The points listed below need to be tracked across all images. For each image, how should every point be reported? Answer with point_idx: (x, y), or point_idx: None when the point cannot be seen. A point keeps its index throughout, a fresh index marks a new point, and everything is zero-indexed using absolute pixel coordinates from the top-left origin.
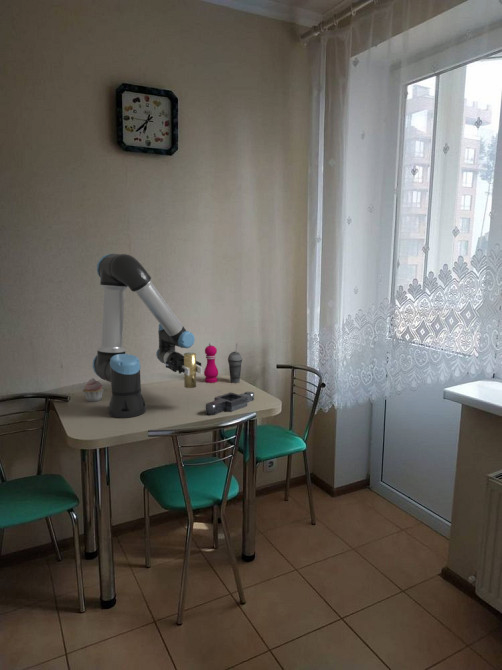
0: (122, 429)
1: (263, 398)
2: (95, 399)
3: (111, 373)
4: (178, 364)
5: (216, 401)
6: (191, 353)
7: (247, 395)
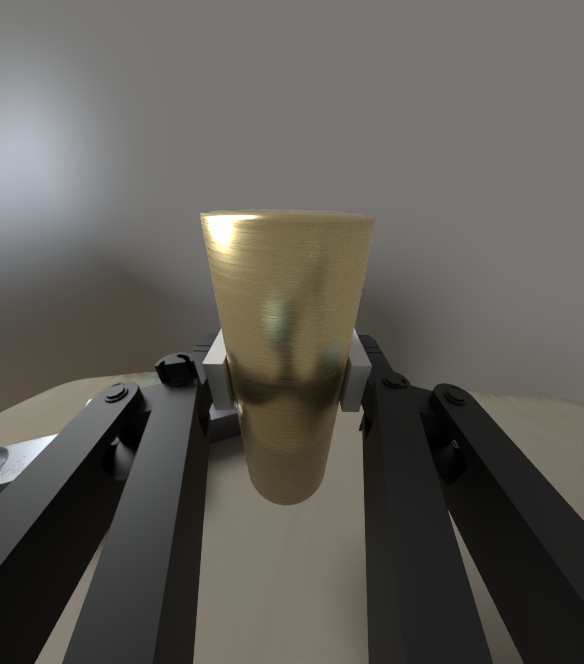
0: (529, 427)
1: None
2: None
3: None
4: (419, 452)
5: (212, 409)
6: (258, 214)
7: (30, 442)
